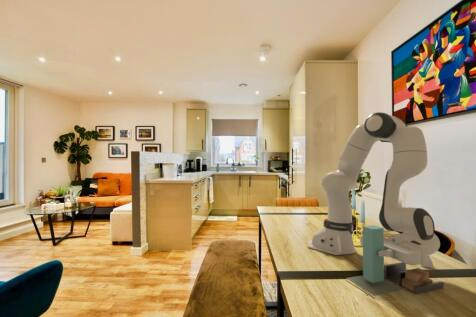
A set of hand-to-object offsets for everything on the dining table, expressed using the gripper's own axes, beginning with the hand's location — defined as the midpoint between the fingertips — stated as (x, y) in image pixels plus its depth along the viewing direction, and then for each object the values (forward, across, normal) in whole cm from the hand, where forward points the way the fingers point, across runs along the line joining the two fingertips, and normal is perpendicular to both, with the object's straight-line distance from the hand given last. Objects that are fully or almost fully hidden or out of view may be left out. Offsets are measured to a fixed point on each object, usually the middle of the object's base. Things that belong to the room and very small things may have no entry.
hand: (371, 250), depth 84 cm
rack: (-15, +3, +13) cm, 20 cm away
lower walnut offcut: (-14, +6, +12) cm, 19 cm away
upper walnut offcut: (-14, +6, +9) cm, 18 cm away
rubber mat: (-1, 0, +13) cm, 13 cm away
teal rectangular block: (-1, 0, +10) cm, 10 cm away
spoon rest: (-39, -15, +13) cm, 44 cm away
